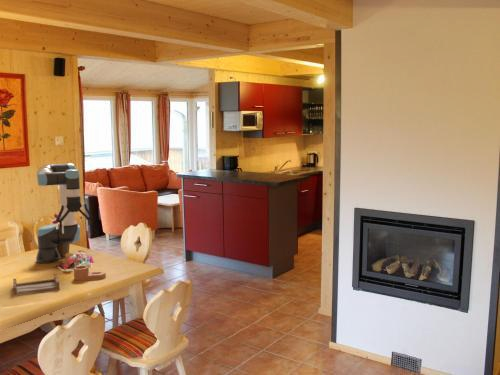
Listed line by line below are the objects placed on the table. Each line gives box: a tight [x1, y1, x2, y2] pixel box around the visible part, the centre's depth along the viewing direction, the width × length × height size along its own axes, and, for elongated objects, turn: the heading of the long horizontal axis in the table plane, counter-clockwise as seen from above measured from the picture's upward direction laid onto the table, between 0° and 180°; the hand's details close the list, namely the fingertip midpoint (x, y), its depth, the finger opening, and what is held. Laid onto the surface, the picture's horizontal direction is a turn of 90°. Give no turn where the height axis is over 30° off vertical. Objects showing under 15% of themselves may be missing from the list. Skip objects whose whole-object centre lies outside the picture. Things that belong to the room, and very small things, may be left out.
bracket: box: [73, 265, 107, 282], centre depth 296 cm, size 18×8×7 cm, turn 102°
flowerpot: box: [52, 213, 72, 257], centre depth 346 cm, size 14×14×30 cm
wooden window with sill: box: [12, 273, 60, 297], centre depth 277 cm, size 17×23×4 cm
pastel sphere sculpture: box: [55, 249, 95, 273], centre depth 321 cm, size 25×24×9 cm
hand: (75, 231), depth 292 cm, fingers open, 13 cm apart
